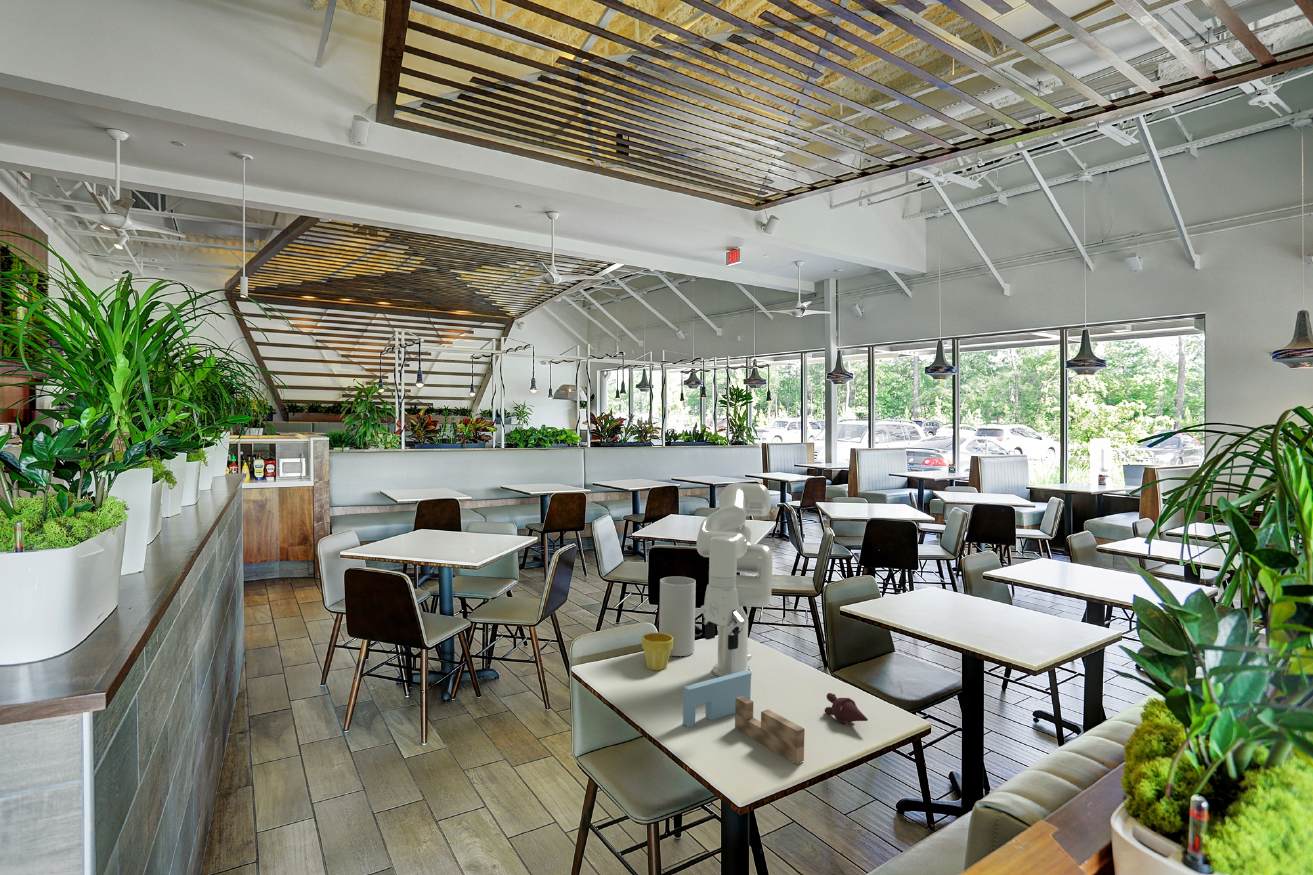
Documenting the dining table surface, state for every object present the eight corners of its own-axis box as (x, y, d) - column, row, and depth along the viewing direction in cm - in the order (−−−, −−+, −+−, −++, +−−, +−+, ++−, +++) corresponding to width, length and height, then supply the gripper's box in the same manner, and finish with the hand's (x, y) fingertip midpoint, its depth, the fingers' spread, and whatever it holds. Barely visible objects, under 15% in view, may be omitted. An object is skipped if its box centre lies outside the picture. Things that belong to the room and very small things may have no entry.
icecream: (878, 706, 172) (837, 690, 185) (859, 704, 168) (818, 688, 182) (875, 734, 171) (833, 716, 184) (855, 732, 167) (814, 714, 180)
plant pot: (675, 662, 218) (676, 633, 218) (669, 674, 208) (669, 643, 208) (645, 659, 220) (646, 630, 220) (637, 670, 210) (638, 640, 210)
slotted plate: (744, 704, 186) (745, 670, 186) (750, 707, 184) (751, 672, 184) (682, 723, 174) (683, 686, 173) (688, 727, 172) (689, 689, 171)
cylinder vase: (671, 642, 237) (673, 574, 237) (700, 650, 230) (702, 580, 230) (651, 652, 227) (653, 581, 227) (681, 660, 220) (683, 587, 219)
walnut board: (734, 727, 172) (735, 697, 172) (741, 725, 173) (742, 695, 173) (796, 764, 154) (797, 731, 154) (803, 761, 155) (804, 728, 155)
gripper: (692, 576, 183) (691, 637, 184) (733, 590, 169) (731, 655, 169) (713, 574, 188) (711, 633, 188) (754, 586, 173) (752, 650, 174)
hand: (721, 643), depth 179 cm, fingers open, 9 cm apart
